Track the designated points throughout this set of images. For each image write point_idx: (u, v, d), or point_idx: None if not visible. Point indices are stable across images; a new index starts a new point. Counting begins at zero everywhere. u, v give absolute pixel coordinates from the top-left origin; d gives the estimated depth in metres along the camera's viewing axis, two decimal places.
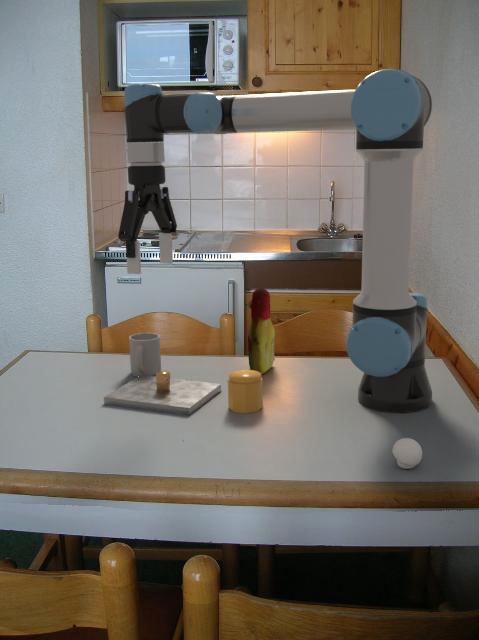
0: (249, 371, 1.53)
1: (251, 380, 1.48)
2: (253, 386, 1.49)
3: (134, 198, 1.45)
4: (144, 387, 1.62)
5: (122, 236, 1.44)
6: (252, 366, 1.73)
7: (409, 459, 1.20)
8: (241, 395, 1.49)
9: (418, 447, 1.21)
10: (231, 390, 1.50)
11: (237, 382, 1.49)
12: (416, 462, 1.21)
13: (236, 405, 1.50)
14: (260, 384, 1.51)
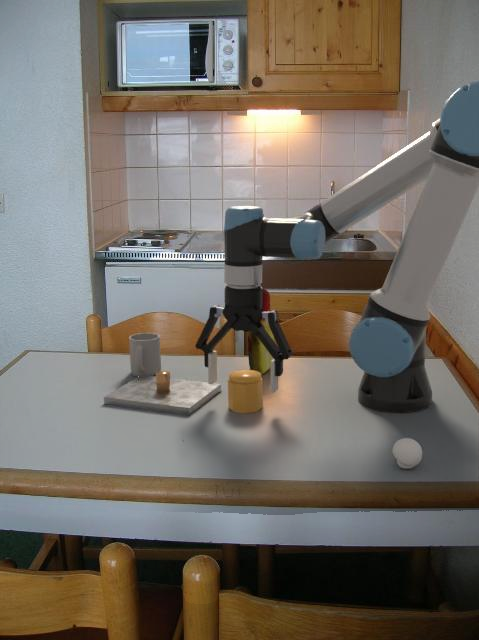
0: (249, 371, 1.53)
1: (251, 380, 1.48)
2: (253, 386, 1.49)
3: None
4: (144, 387, 1.62)
5: None
6: (252, 366, 1.73)
7: (409, 459, 1.20)
8: (241, 395, 1.49)
9: (418, 447, 1.21)
10: (231, 390, 1.50)
11: (237, 382, 1.49)
12: (416, 462, 1.21)
13: (236, 405, 1.50)
14: (260, 384, 1.51)
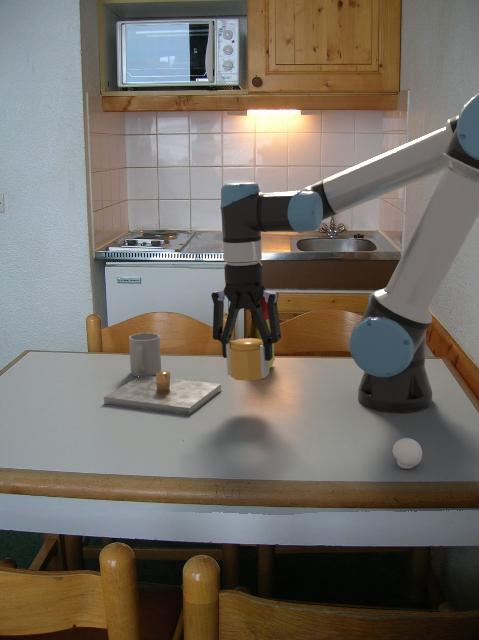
0: (251, 339, 1.52)
1: (253, 346, 1.47)
2: (255, 353, 1.47)
3: None
4: (144, 387, 1.62)
5: None
6: None
7: (409, 459, 1.20)
8: (243, 362, 1.47)
9: (418, 447, 1.21)
10: (233, 358, 1.48)
11: (239, 349, 1.47)
12: (416, 462, 1.21)
13: (238, 373, 1.48)
14: None
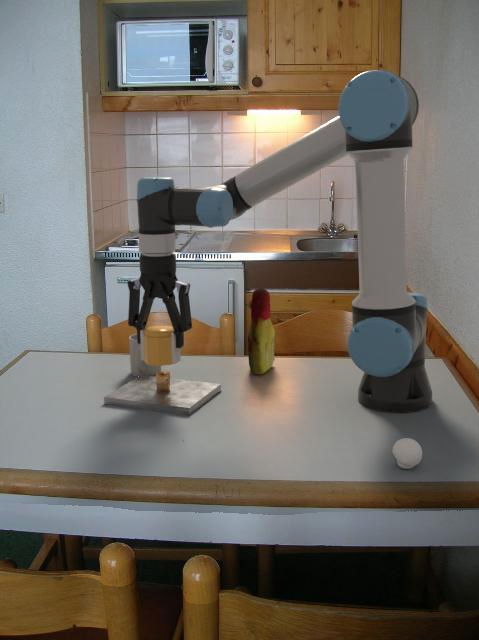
0: (165, 326, 1.59)
1: (164, 333, 1.54)
2: (166, 340, 1.54)
3: None
4: (144, 387, 1.62)
5: None
6: (252, 366, 1.73)
7: (409, 459, 1.20)
8: (154, 348, 1.54)
9: (418, 447, 1.21)
10: (146, 344, 1.55)
11: (151, 336, 1.54)
12: (416, 462, 1.21)
13: (150, 358, 1.55)
14: None
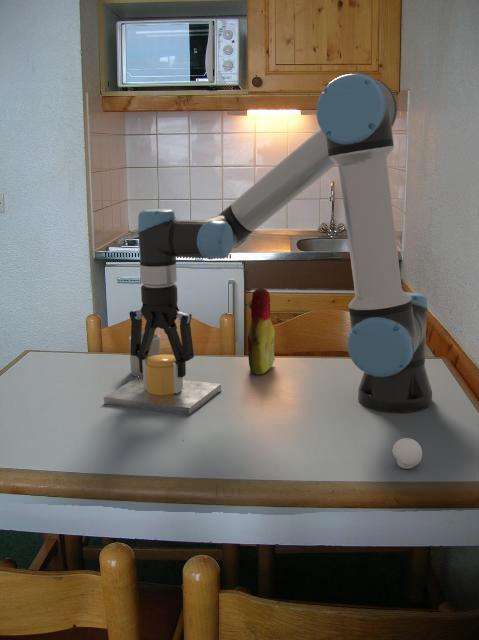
0: (167, 356, 1.60)
1: (166, 363, 1.55)
2: (168, 369, 1.55)
3: None
4: None
5: None
6: (252, 366, 1.73)
7: (409, 459, 1.20)
8: (157, 378, 1.56)
9: (418, 447, 1.21)
10: (148, 373, 1.57)
11: (153, 366, 1.55)
12: (416, 462, 1.21)
13: (152, 388, 1.57)
14: None
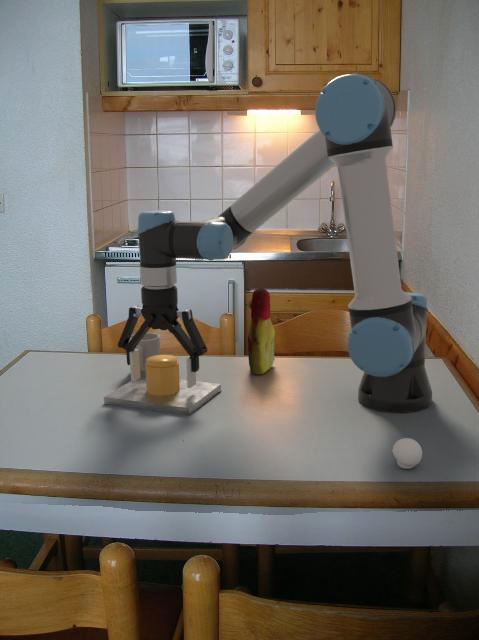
0: (167, 356, 1.60)
1: (166, 364, 1.55)
2: (168, 370, 1.56)
3: None
4: (144, 387, 1.62)
5: None
6: (252, 366, 1.73)
7: (409, 459, 1.20)
8: (157, 378, 1.56)
9: (418, 447, 1.21)
10: (148, 374, 1.57)
11: (153, 366, 1.55)
12: (416, 462, 1.21)
13: (152, 388, 1.57)
14: (176, 368, 1.57)
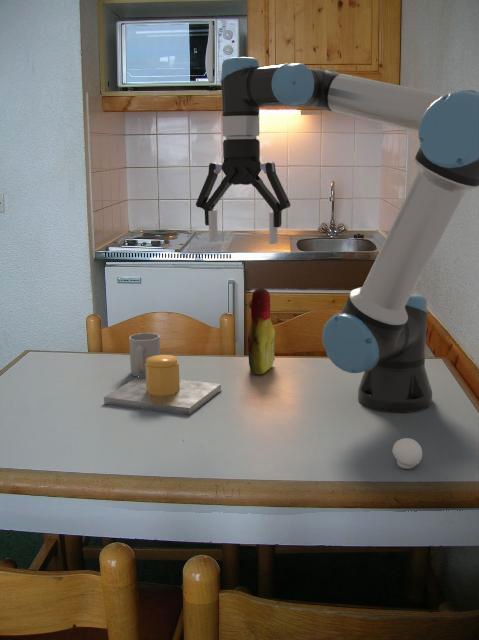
0: (167, 356, 1.60)
1: (166, 364, 1.55)
2: (168, 370, 1.56)
3: None
4: (144, 387, 1.62)
5: None
6: (252, 366, 1.73)
7: (409, 459, 1.20)
8: (157, 378, 1.56)
9: (418, 447, 1.21)
10: (148, 374, 1.57)
11: (153, 366, 1.55)
12: (416, 462, 1.21)
13: (152, 388, 1.57)
14: (176, 368, 1.57)
